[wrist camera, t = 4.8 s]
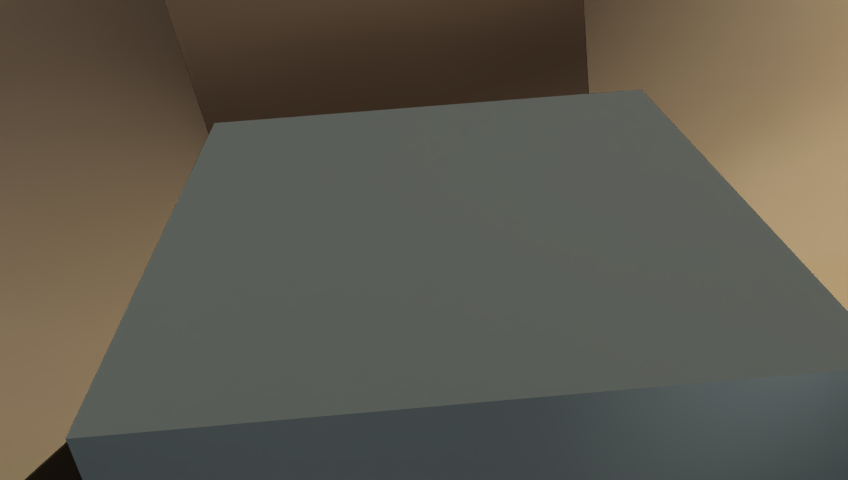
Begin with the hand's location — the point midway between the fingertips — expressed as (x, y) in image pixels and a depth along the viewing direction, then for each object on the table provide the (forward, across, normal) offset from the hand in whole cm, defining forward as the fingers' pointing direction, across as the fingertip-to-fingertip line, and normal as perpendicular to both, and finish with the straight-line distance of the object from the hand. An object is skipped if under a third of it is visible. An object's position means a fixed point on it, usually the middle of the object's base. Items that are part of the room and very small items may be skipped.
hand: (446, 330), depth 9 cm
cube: (+1, 0, 0) cm, 1 cm away
